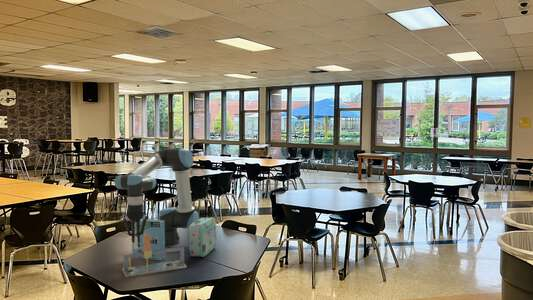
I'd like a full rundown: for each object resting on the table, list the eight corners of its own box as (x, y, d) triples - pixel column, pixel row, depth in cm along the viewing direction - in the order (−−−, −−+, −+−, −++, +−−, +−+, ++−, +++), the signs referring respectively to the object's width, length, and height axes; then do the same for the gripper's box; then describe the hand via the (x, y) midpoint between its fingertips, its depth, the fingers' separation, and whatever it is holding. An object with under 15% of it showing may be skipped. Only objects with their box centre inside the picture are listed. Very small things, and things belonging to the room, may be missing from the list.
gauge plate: (122, 270, 216) (122, 267, 216) (180, 261, 231) (180, 258, 231) (125, 277, 206) (125, 273, 206) (186, 267, 221) (186, 264, 221)
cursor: (142, 267, 217) (142, 234, 217) (150, 265, 219) (149, 233, 219) (144, 269, 214) (143, 236, 213) (151, 268, 216) (151, 235, 215)
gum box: (165, 258, 237) (164, 220, 236) (160, 261, 232) (160, 221, 231) (136, 255, 243) (136, 217, 242) (131, 257, 238) (131, 219, 237)
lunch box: (203, 260, 234) (203, 223, 233) (186, 259, 236) (186, 222, 235) (218, 247, 260) (218, 214, 259) (202, 246, 262) (202, 213, 261)
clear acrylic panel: (123, 270, 212) (123, 254, 212) (183, 261, 227) (182, 246, 227) (124, 272, 210) (124, 255, 209) (184, 263, 225) (184, 247, 224)
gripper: (123, 206, 206) (123, 251, 207) (149, 204, 212) (149, 248, 213) (121, 203, 212) (121, 248, 214) (146, 201, 219) (146, 244, 220)
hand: (135, 248), depth 213 cm, fingers closed
